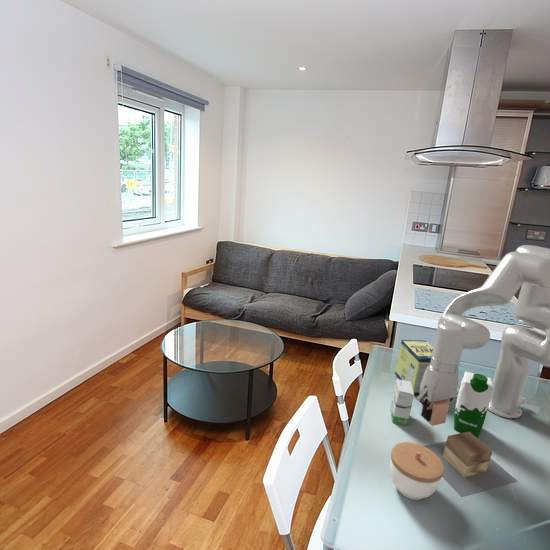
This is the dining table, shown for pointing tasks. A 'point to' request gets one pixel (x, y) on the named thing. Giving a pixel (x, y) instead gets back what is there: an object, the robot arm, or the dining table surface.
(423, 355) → the protein box
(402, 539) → the dining table surface
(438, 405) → the terracotta block
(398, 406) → the ink box
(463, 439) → the walnut slab
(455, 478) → the rubber mat
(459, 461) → the oak slab
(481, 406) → the milk carton
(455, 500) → the dining table surface
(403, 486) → the lidded bowl
